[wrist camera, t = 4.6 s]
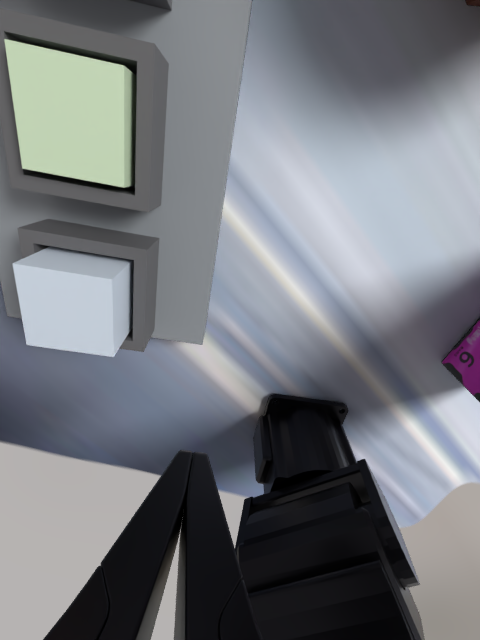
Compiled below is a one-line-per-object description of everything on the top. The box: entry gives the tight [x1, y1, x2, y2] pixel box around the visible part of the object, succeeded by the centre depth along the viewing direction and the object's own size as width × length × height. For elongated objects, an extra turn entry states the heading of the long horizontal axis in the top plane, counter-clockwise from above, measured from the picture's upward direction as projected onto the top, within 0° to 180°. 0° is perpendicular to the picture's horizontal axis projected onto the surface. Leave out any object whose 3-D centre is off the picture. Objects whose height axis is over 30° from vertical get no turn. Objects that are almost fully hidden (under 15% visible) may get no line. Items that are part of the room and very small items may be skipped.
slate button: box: [12, 246, 134, 357], centre depth 15 cm, size 4×4×3 cm
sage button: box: [4, 39, 137, 188], centre depth 13 cm, size 4×4×3 cm
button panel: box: [0, 0, 252, 352], centre depth 14 cm, size 12×22×4 cm, turn 170°
